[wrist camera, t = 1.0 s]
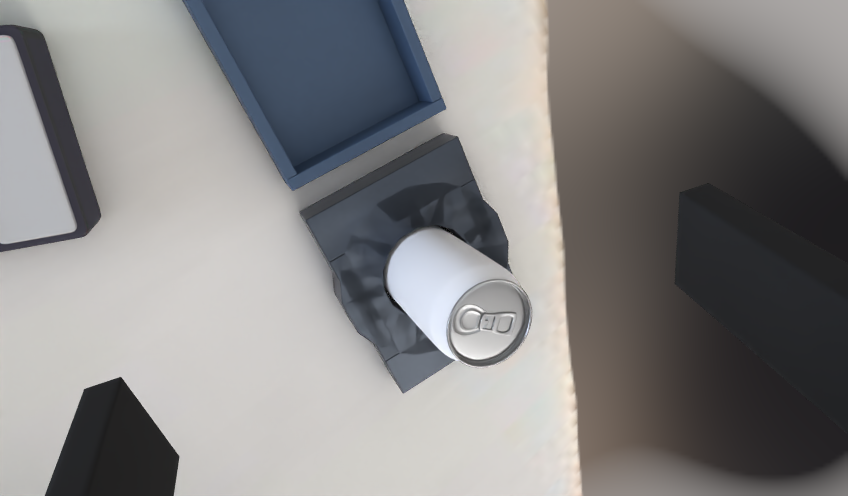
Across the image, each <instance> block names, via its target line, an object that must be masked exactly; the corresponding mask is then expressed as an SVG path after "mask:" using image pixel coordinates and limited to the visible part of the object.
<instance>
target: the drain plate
mask: <svg viewBox="0 0 848 496" xmlns="http://www.w3.org/2000/svg"><path fill="white" fill-rule="evenodd" d="M299 213H300V215H301V217H302V219H303V221H304V222H305V224H306V226H307V228H308V229H309V231H310V233H311V235H312V236H313V238H314V240H315V242H316V243H317V245H318V247H319V249H320V250H321V252H322V254H323V256H324V257H325V259H326V261H327V263H328V265H329V266H330V268H331V270H332V273H333V284H334V292H335V295H336V297H337V298H338V300H339V302H340V304H341V305H342V307H343V309H344V310H345V312H346V314H347V316H348V317H349V319H350V321H351V322H352V324H353V325H354V327H355V329H356V330H357V332H358V333H359V334H361V335H362V336H363V337H365V338H366V339H368V340H369V341H371V342H372V343H373V344H374V346H375V347H376V349H377V351H378V353H379V354H380V356H381V358H382V360H383V361H384V363H385V365H386V367H387V369H388V370H389V372H390V374H391V376H392V377H393V379H394V380H395V382H396V384H397V385H398V387H399V388H400V390H401V391H402V393H405V392H407V391H408V390H410V389H411V388H413V387H414V386H416V385H417V384H419V383H421V382H422V381H424V380H425V379H427V378H428V377H430V376H431V375H433V374H434V373H436V372H438V371H439V370H441V369H442V368H444V367H445V366H447V365H448V364H450V363H452V362H453V361H455V360H454V359H452V358H450V357H448V356H446V355H445V354H444V353H442V352H441V351H440V350H439V349H438V348H437V347H436V346H435V345H434V344H433V342H432V341H431V340H430V339H429V338H428V337H427V336H426V335H425V334H424V332H423V331H422V330H421V329H420V328H419V327H418V326H417V325H416V324H415V322H414V321H413V320H412V319H411V318H410V317H409V316H408V314H407V313H406V312H405V311H404V310H403V309H402V308H401V306H400V305H399V304H398V303H397V302H394V301H393V300H392V299H390V298H389V297H388V295H387V293H386V291H385V289H384V278H383V270H384V267H385V264H386V261H387V258H388V255H389V252H390V251H391V250H392V248H393V247H394V246H395V245H396V243H397V242H398V241H399V240H400V239H401V237H403V236H405V235H407V234H408V233H410V232H412V231H413V230H415V229H417V228H419V227H426V226H433V225H438V226H442V227H445V228H447V229H449V230H450V231H451V232H452V234H453V236H455V237H457V238H458V239H460V240H461V241H463V242H465V243H466V244H468V245H469V246H471V247H473V248H474V249H476V250H477V251H479V252H481V253H482V254H484V255H485V256H487V257H488V258H490V259H492V260H493V261H495V262H496V263H498V264H499V265H501V266H502V267H504V268H505V269H507V270H508V271H509V272H510V273H511V274H512V272H511V269H510V267H509V264H508V240H507V237H506V235H505V232H504V230H503V227H502V224H501V222H500V219H499V217H498V214H497V213H496V212H495V211H494V210H493V209H492V208H491V207H490V206H489V205H488V204H487V203H486V202H485V201H484V200H483V198H482V196H481V193H480V191H479V188H478V186H477V183H476V181H475V179H474V176H473V174H472V171H471V169H470V166H469V163H468V161H467V158H466V156H465V153H464V151H463V148H462V146H461V143H460V141H459V138H458V137H457V136H453V135H449V134H445V133H443V134H441V135H439V136H438V137H436V138H434V139H432V140H430V141H428V142H427V143H425V144H423V145H421V146H419V147H417V148H416V149H414V150H412V151H410V152H408V153H406V154H405V155H403V156H401V157H399V158H397V159H395V160H394V161H392V162H390V163H388V164H386V165H384V166H383V167H381V168H379V169H377V170H375V171H373V172H371V173H370V174H368V175H366V176H364V177H362V178H360V179H359V180H357V181H355V182H353V183H351V184H349V185H348V186H346V187H344V188H342V189H340V190H338V191H337V192H335V193H333V194H331V195H329V196H327V197H326V198H324V199H322V200H320V201H318V202H316V203H315V204H313V205H311V206H309V207H307V208H305V209H304V210H302V211H300V212H299ZM512 275H513V274H512Z"/></svg>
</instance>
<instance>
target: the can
mask: <svg viewBox="0 0 848 496" xmlns="http://www.w3.org/2000/svg"><path fill="white" fill-rule="evenodd" d="M383 278H384V287H385V288H386V290H387V291H388V292H389V294H390V295H391V296H392V297H393V298H394V300H395V301H396V302H397V303H398V304H399V305H400V306H401V308H402V309H403V310H404V311H405V312H406V313H407V314H408V316H409V317H410V318H411V319H412V320H413V321H414V322H415V324H416V325H417V326H418V327H419V328H420V329H421V330H422V331H423V332H424V334H425V335H426V336H427V337H428V338H429V339H430V340H431V341H432V342H433V344H434V345H435V346H436V347H437V348H438V349H439V350H440V351H441V352H442V353H444V354H445V355H446V356H448V357H450V358H452V359H454V360H457V361H460V362H462V363H463V364H465V365H467V366H470V367H475V368H486V367H491V366H494V365H497V364H499V363H501V362H503V361H505V360H506V359H508V358H509V357H510V356H512V355H513V354H514V353H515V352H516V351H517V350H518V349H519V348H520V346H521V345H522V343H523V342H524V340H525V338H526V337H527V334H528V332H529V329H530V326H531V321H532V308H531V303H530V300H529V298H528V296H527V294H526V293H525V291H524V290H523V289H522V288H521V286H520V284H519V282H518V281H517V279H516V278H515V277H514V276H513V275H512V274H511V273H510V272H509V271H508V270H507V269H505V268H504V267H502V266H501V265H499V264H498V263H496V262H495V261H493V260H492V259H490V258H488V257H487V256H485V255H484V254H482V253H481V252H479V251H477V250H476V249H474V248H473V247H471V246H469V245H468V244H466V243H465V242H463V241H461V240H460V239H458V238H457V237H455V236H453V235H452V234H450V233H449V232H447V231H445V230H444V229H442V228H440V227H438V226H435V225H433V226H426V227H419V228H417V229H415V230H413V231H412V232H410V233H408V234H407V235H405V236H403V237H401V239H400V240H399V241H398V242H397V243H396V245H395V246H394V247H393V248H392V250H391V251H390V252H389V255H388V258H387V261H386V264H385V267H384V270H383Z"/></svg>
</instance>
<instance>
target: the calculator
mask: <svg viewBox="0 0 848 496" xmlns="http://www.w3.org/2000/svg"><path fill="white" fill-rule="evenodd" d="M100 218H101V213H100V209H99V206H98V203H97V200H96V197H95V194H94V191H93V188H92V185H91V181H90V178H89V175H88V172H87V169H86V166H85V163H84V160H83V156H82V153H81V150H80V147H79V144H78V141H77V138H76V135H75V132H74V128H73V125H72V122H71V119H70V116H69V113H68V110H67V107H66V104H65V100H64V97H63V94H62V91H61V88H60V85H59V82H58V79H57V76H56V72H55V69H54V66H53V63H52V60H51V57H50V54H49V51H48V48H47V44H46V41H45V39H44V36H43V34H42V33H41V32H39V31H38V30H35V29H31V28H26V27H21V26H16V25H0V252H3V251H9V250H14V249H20V248H26V247H31V246H37V245H42V244H48V243H53V242H59V241H64V240H70V239H75V238H80V237H84V236H86V235H87V234H88V233H89V232H90V231H91V229H92V228H93V227H94V226H95V225H96V223H97V222H98V221H99V220H100Z"/></svg>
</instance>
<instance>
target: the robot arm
mask: <svg viewBox="0 0 848 496" xmlns="http://www.w3.org/2000/svg"><path fill="white" fill-rule="evenodd" d="M675 284H676V285H677V286H678V287H679V288H680V289H681V290H683V291H684V292H685V293H686V294H687V295H689V297H691V298H692V299H693V300H694V301H695V302H696V303H697V304H699V305H700V306H701V307H702V308H703V309H704V310H706V311H707V312H708V313H709V314H710V315H711V316H712V317H714V318H715V319H716V320H717V321H718V322H719V323H721V324H722V325H723V326H724V327H725V328H726V329H727V330H729V331H730V332H731V333H732V334H733V335H734V336H735V337H737V338H738V339H739V340H740V341H741V342H742V343H744V344H745V345H746V346H747V347H748V348H749V349H751V350H752V351H753V352H754V353H755V354H756V355H757V356H759V357H760V358H761V359H762V360H763V361H764V362H765V363H767V364H768V365H769V366H770V367H771V368H772V369H773V370H775V371H776V372H777V373H778V374H779V375H780V376H782V377H783V378H784V379H785V380H786V381H787V382H788V383H790V384H791V385H792V386H793V387H794V388H795V389H797V390H798V391H799V392H800V393H801V394H802V395H803V396H805V397H806V398H807V399H808V400H809V401H810V402H811V403H813V404H814V405H815V406H816V407H817V408H818V409H820V410H821V411H822V412H823V413H824V414H825V415H826V416H828V417H829V418H830V419H831V420H832V421H834V422H835V423H836V424H837V425H838V426H839V427H840V428H842V429H843V430H844V431H845V432H846V433H847V434H848V264H847V263H846V262H844V261H842V260H841V259H839V258H837V257H835V256H834V255H832V254H830V253H829V252H827V251H825V250H823V249H822V248H820V247H818V246H816V245H815V244H813V243H811V242H810V241H808V240H806V239H804V238H803V237H801V236H799V235H797V234H795V233H794V232H792V231H790V230H789V229H787V228H785V227H784V226H782V225H780V224H778V223H777V222H775V221H773V220H771V219H769V218H768V217H766V216H765V215H763V214H761V213H759V212H758V211H756V210H754V209H753V208H751V207H749V206H747V205H746V204H744V203H742V202H741V201H739V200H737V199H735V198H734V197H732V196H730V195H728V194H727V193H725V192H723V191H721V190H720V189H718V188H716V187H715V186H713V185H711V184H709V183H707V184H704V185H701V186H698V187H695V188H692V189H689V190H686V191H683V192H680V196H679V214H678V232H677V250H676V268H675ZM178 462H179V455H178V454H177V453H176V451H175V450H174V448H173V447H172V446H171V444H170V443H169V442H168V440H167V439H166V438H165V436H164V435H163V433H162V432H161V431H160V429H159V428H158V427H157V425H156V424H155V423H154V421H153V420H152V418H151V417H150V416H149V414H148V413H147V412H146V410H145V409H144V407H143V406H142V405H141V403H140V402H139V401H138V399H137V398H136V397H135V395H134V394H133V392H132V391H131V390H130V388H129V387H128V386H127V384H126V383H125V382H124V380H123V379H122V377H119V378H116V379H113V380H110V381H107V382H104V383H101V384H98V385H95V386H92V387H89V388H86V389H84V392H83V394H82V397H81V400H80V402H79V405H78V408H77V410H76V413H75V416H74V419H73V421H72V424H71V427H70V429H69V432H68V435H67V437H66V440H65V443H64V446H63V448H62V451H61V454H60V456H59V459H58V462H57V464H56V467H55V470H54V472H53V475H52V478H51V481H50V483H49V486H48V489H47V491H46V494H45V496H174V489H175V483H176V476H177V469H178Z"/></svg>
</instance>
